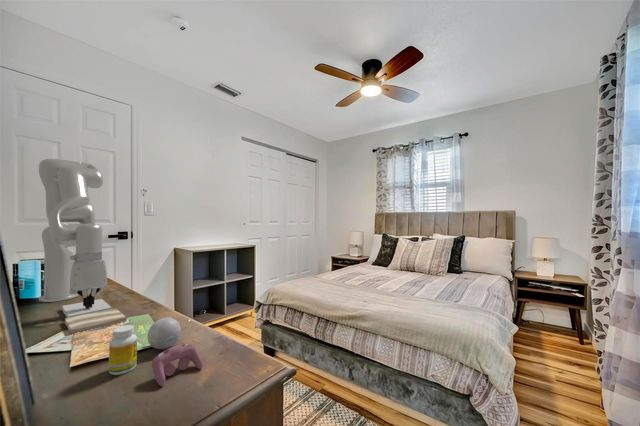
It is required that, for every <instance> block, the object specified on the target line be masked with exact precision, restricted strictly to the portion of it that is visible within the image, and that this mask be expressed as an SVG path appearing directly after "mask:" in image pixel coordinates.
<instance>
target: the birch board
mask: <svg viewBox="0 0 640 426" xmlns="http://www.w3.org/2000/svg"><path fill="white" fill-rule="evenodd" d="M127 319H128V318H127V316H126V315H124V314H123V313H122V312H121V311H120V310H118V308H117V307H115V308H112V309H109V310H104V311H99V312H94V313H89V314H84V315H79V316H75V317H70V318H67V317H65V318H64V324H65V325H66V328H67V329H68V331H69V333H70V335H71V336H73V335H75V334H74V333H77V332H81V333H83V332H82V331H86V332H88V331H87V330H90V331H92V330H91V329H94V330H96V329H95V328H98V329H100V328H99V327H102V328H105V327H104V326H106V327H110V326H114V325H118V324H117V323H119V324H122V323H121V322H123V323H126V322H125V321H127ZM127 322H128V321H127ZM113 324H114V325H113ZM72 334H73V335H72ZM77 334H78V333H77Z"/></svg>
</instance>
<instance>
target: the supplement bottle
mask: <svg viewBox="0 0 640 426" xmlns="http://www.w3.org/2000/svg"><path fill="white" fill-rule="evenodd" d="M134 332H135V327H134V325H132V324H131V325H130V324H127V325H122V326H117V327H115V328H114V329H113V330H112V337H113V338H111V339H110V341H109V344H108V347H109V348H108V373H109V374H110V375H114V376H119V375H123V374H127V373H129V372H131V371H133V370H134V369H135V368H136V366H137V363H138V362H137V360H138V358H137V357H138V355H137V353H138V336H137V334H135V333H134Z"/></svg>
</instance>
